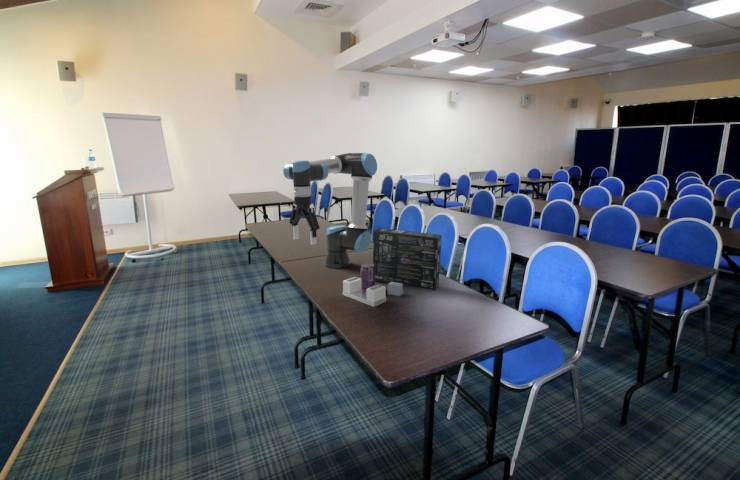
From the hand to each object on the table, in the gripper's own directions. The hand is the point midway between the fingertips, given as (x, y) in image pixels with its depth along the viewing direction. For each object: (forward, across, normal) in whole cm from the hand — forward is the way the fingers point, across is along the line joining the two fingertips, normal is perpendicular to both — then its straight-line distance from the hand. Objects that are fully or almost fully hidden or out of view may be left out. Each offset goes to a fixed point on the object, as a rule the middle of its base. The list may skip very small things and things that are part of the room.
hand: (304, 241), depth 170 cm
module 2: (+23, +33, +14) cm, 42 cm away
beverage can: (+25, +18, +23) cm, 38 cm away
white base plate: (+25, +25, +14) cm, 38 cm away
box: (+25, +26, +42) cm, 55 cm away
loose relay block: (+25, +32, +28) cm, 49 cm away
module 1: (+23, +18, +13) cm, 32 cm away
